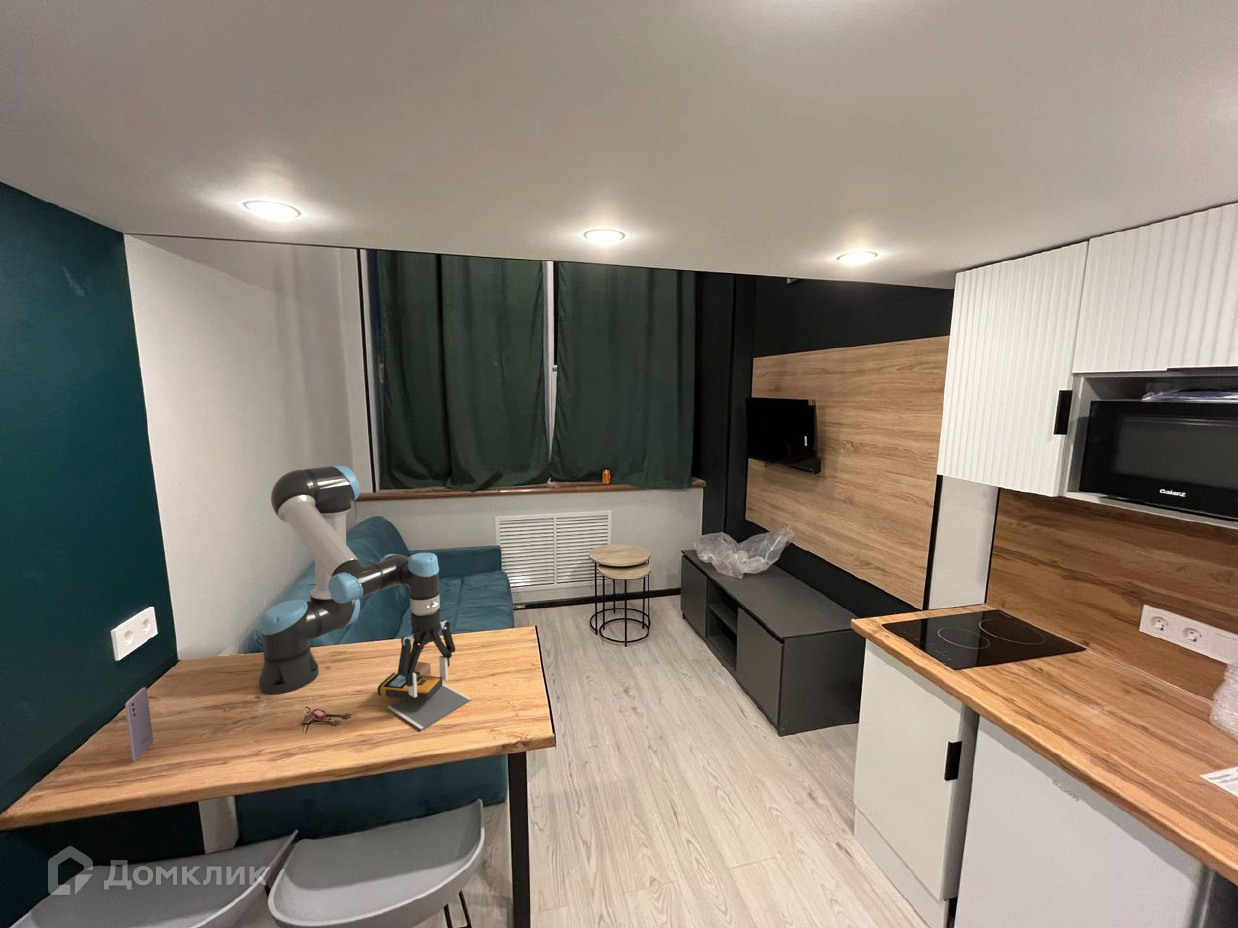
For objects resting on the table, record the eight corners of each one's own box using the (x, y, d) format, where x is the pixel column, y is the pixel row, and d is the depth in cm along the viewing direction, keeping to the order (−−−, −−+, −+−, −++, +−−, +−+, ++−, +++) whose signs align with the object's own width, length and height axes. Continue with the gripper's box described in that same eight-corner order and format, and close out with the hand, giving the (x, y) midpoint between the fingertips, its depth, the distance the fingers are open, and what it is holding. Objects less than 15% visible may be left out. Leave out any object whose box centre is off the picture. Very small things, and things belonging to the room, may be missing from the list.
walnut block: (406, 685, 147) (405, 669, 146) (416, 676, 152) (416, 661, 151) (420, 687, 146) (419, 671, 145) (430, 678, 151) (430, 663, 150)
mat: (386, 709, 135) (386, 706, 135) (437, 682, 148) (437, 680, 148) (421, 731, 126) (421, 728, 126) (471, 700, 139) (471, 698, 139)
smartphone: (150, 742, 122) (143, 686, 120) (154, 741, 122) (147, 685, 120) (131, 762, 115) (124, 703, 113) (136, 762, 115) (128, 702, 113)
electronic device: (427, 704, 133) (426, 692, 132) (377, 697, 136) (375, 686, 135) (444, 685, 141) (443, 674, 141) (396, 680, 144) (395, 669, 144)
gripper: (395, 628, 123) (400, 711, 126) (467, 600, 141) (469, 673, 143) (379, 620, 127) (384, 701, 130) (450, 594, 145) (453, 665, 148)
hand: (428, 686), depth 137 cm, fingers closed on electronic device, 9 cm apart
